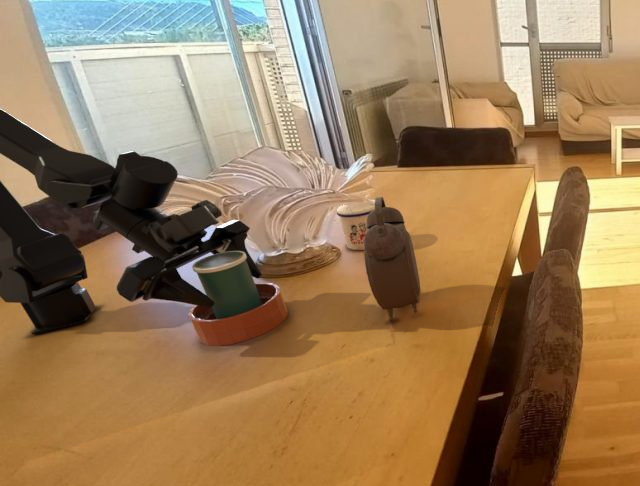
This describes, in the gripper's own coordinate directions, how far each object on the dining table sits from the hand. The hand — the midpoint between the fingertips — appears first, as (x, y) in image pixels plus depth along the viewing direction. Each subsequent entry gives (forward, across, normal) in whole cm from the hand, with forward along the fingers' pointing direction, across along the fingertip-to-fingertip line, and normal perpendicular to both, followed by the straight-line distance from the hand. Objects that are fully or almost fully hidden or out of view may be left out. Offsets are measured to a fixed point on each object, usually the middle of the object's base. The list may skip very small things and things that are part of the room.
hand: (237, 290), depth 77 cm
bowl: (+4, 0, +6) cm, 7 cm away
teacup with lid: (+6, +35, +4) cm, 35 cm away
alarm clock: (+21, +7, -11) cm, 25 cm away
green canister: (+4, 0, +5) cm, 7 cm away
